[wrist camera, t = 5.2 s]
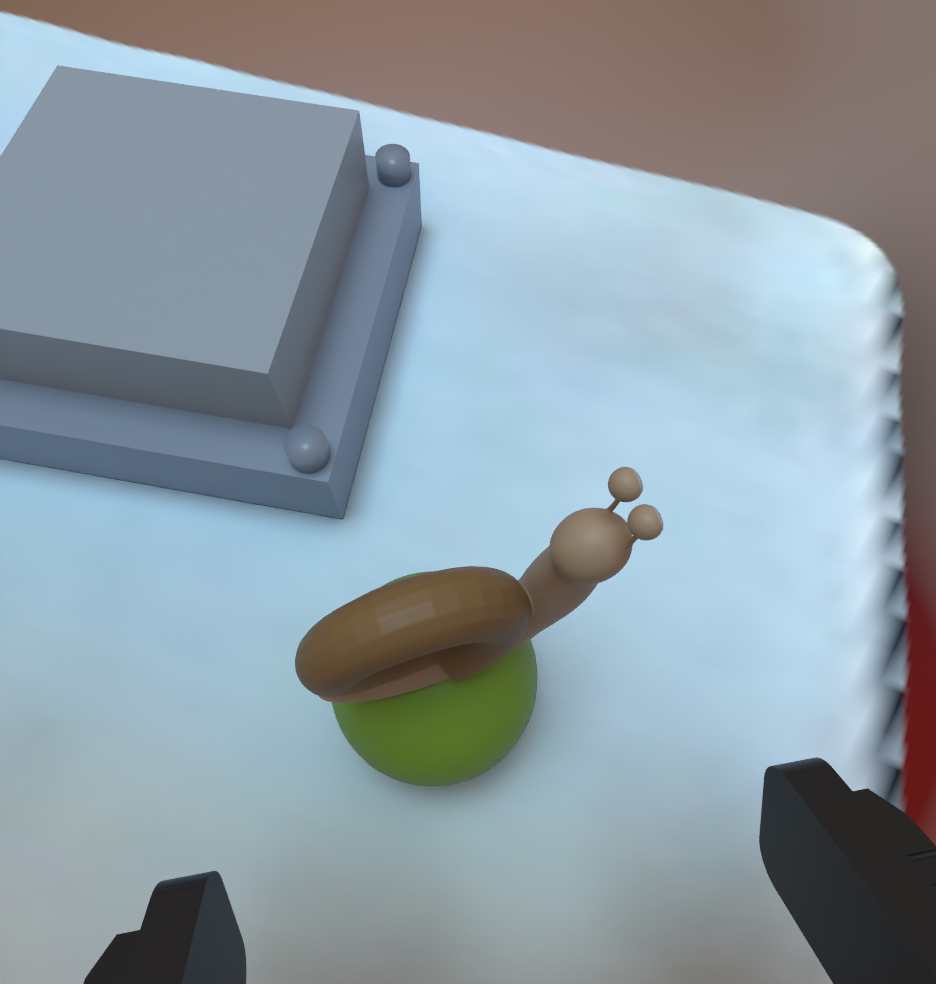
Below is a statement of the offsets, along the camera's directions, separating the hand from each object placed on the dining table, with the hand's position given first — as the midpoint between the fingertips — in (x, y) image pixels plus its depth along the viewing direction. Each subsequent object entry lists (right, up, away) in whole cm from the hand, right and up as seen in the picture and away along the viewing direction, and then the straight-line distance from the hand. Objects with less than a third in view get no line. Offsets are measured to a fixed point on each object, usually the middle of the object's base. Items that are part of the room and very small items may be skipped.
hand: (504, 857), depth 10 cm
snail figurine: (-1, 0, +11) cm, 11 cm away
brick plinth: (-10, +11, +15) cm, 22 cm away
